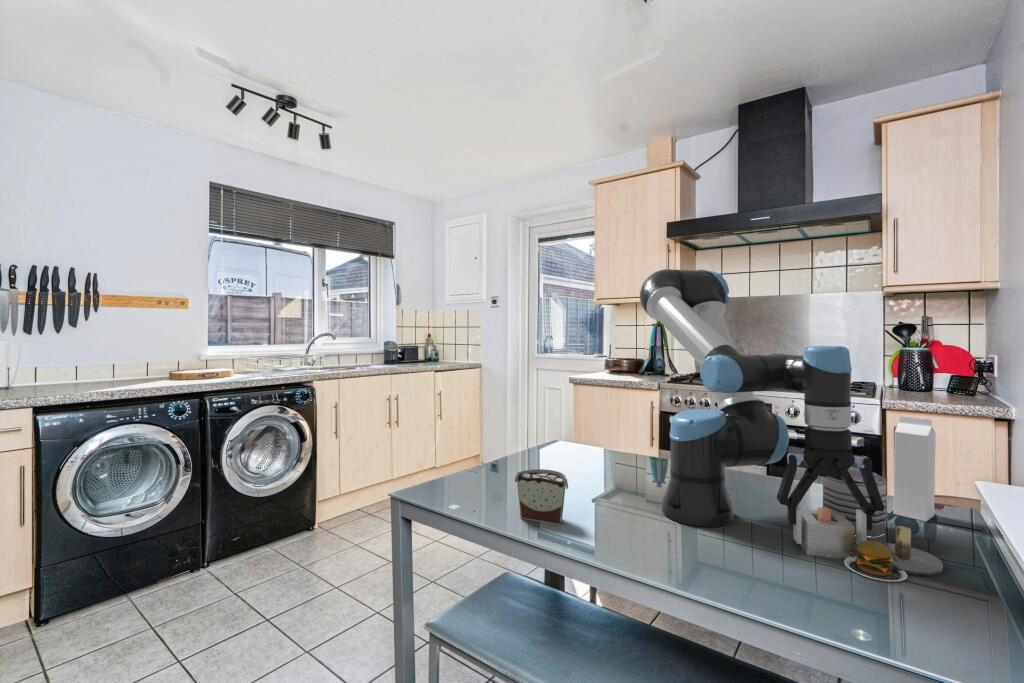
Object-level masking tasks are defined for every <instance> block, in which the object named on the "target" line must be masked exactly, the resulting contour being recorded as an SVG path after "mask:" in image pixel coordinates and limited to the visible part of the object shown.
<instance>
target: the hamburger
mask: <svg viewBox="0 0 1024 683" xmlns="http://www.w3.org/2000/svg"><path fill="white" fill-rule="evenodd" d="M882 543H883V542H879V541H876V540H870V539H869V540H867V541H863V542H861V543H860V544H859V545H858V544H857V545H856V549H855V555H854V558H852V557H848V558H846V559H843V563H844V565H845V567H846V568H847V569H849V570H851V571H853V572H854V573H855V574H858V575H860V576H863V577H866V578H868V579H873V580H876V581H880V582H881V581H882V582H901V581H904V580H905V581H906V579H907V578H908V574H906V572H905V571H904V570H903V571H898V572H899V573H900V574H901V575H900V574H899V573H898V572H897V573H898V574H899V575H900V578H898V579H895V580H893V579H891V580H890V579H889V580H888V579H882V578H875V577H872V576H868V575H865V574H862V573H860V572H857V571H856V570H854V568H852V567H851V566H850V564H851V563H853V562H852V561H854V560H856V561H854V562H856V565H857V567H858V568H859V569H860V570H861V571H863V572H865V573H867V574H870V575H873V576H878V577H884V576H885V577H886V576H889V575H891V573H892V571H893V570H892V569H893V567H892V566H895V565H893V563H894V561H893V559H892V553H891V551H890V550H889V548H888V547H886V546H885V545H883V544H882ZM892 562H893V563H892Z"/></svg>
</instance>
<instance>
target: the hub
mask: <svg viewBox="0 0 1024 683" xmlns="http://www.w3.org/2000/svg"><path fill="white" fill-rule="evenodd" d="M894 537H895V538H894V542H895V543H889V542H881V543H882V544H883V545H885V546H886V547H888V548H889V550H890V551H891V553H892V559H893V561H894V563H893V562H892V563H893V565H895V566H892V567H893V570H892V571H894V570H896V571H895V572H897V571H903V570H904V571H905V572H906V573H907V575H911V574H912V575H911V576H920V577H934V576H940V575H942V574H943V572H944V563H943V561H942V560H940V559H939V558H938V557H937V556H935V555H934V554H931V553H929V552H927V551H924V550H921V549H918V548H914V547H912V529H911V528H910V527H908V526H904V525H896V526H895V536H894Z"/></svg>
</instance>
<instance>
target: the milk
mask: <svg viewBox="0 0 1024 683" xmlns="http://www.w3.org/2000/svg"><path fill="white" fill-rule="evenodd" d="M936 432H937V431H935V429H934V427H933V421H932V419H930V418H929V419H928V418H919V417H918V418H917V417H912V416H911V417H909V416H903V415H900V416H899V417H898V424H897V426H896V428H895V431H894V454H893V455H894V457H893V458H894V460H893V461H894V462H893V465H894V466H893V515H898V516H901V517H905V518H910V519H915V520H918V521H921V522H928V521H929V520H930V519H932V518H933V517H935V499H936V498H935V492H936V491H935V490H936V489H935V487H936V482H935V481H936V440H937V439H936V434H937V433H936Z"/></svg>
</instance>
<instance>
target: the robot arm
mask: <svg viewBox="0 0 1024 683" xmlns="http://www.w3.org/2000/svg"><path fill="white" fill-rule="evenodd" d="M728 294H730V289H729V285H728V282H727V280H726V279H725V278H724V276H723V275H721V273H719V272H716V271H713V270H707V269H697V270H694V269H693V270H691V269H672V268H671V269H667V268H664V269H661V270H658V271H655V272H653V273H651V274H649V276H648V277H647V278H646V279H645V280H644V282H643V283H642V285H641V287H640V291H639V300H640V301H639V302H640V304H641V306H642V309H643V310H644V312H645V313H646V314H647V315H648V316H649V317H650V318H651V319H653V320H655V321H659V322H660V324H662V326H663V327H664V328H666V330H668V332H669V333H670V334H671V335H672V336H673V337H674V338H675V340H677V342H678V343H679V344H680V345H681V346H682V347H683V349H685V350H686V351H687V353H688V354H689V355H690V356H691V357H692V358H693V359H694V360H695V361H696V362H697V363H698V364H699V365H700V370H699V374H700V379H701V380H702V385H703V386H704V388H705V389H706V390H708V391H710V392H711V393H712V392H713V396H714V399H715V401H716V404H717V408H716V409H714V408H703V409H702V408H696V409H695V408H694V409H688V410H683V411H681V412H678V413H676V414H674V415H673V417H672V418H671V421H670V429H669V430H670V431H669V439H670V442H669V443H670V446H669V447H670V449H669V450H670V459H669V461H670V462H669V463H670V464H669V465H670V471H669V472H670V473H669V474H670V476H669V477H670V478H669V481H668V484H667V487H666V490H665V492H664V495H663V498H662V502H661V504H662V505H661V507H662V509H661V510H662V511H661V512H662V514H663V515H664V516H665V517H667V518H668V519H670V520H673V521H675V522H678V523H681V524H685V525H689V526H695V527H703V528H704V527H708V528H709V527H710V528H711V527H713V528H714V527H723V526H726V525H729V524H732V522H733V521H734V507H733V504H732V501H731V498H730V495H729V492H728V488H727V485H726V468H732V467H745V466H746V467H748V466H749V467H750V466H757V467H758V466H759V467H760V466H764V465H769V464H774V463H777V462H779V461H780V460H782V459H783V457H784V456H785V455H786V466H785V470H784V472H783V475H782V479H781V482H780V485H779V489H778V491H777V494H776V499H777V502H779V504H780V505H783V506H786V507H787V521H788V523H789V524H790V525H793V532H792V533H793V539H794V541H795V543H796V544H798V545H800V544H802V530H801V509H802V508H801V507H800V506H799V504H800V503H801V502H802V500H803V498H804V497H805V496H806V494H807V492H808V491H809V489H810V488H811V486H812V485H813V483H814V482H815V481H817V479H818V478H819V477H822V478H823V477H828V476H831V477H835V478H839V477H841V478H842V480H843V481H844V483H845V484H846V486H847V487H848V489H849V490H850V492H851V493H852V495H853V496H854V498H855V499H856V501H857V502H858V504H859V506H860V507H861V508H862V510H859V509H856V537H855V540H856V541H855V542H856V545H857V546H858V545H859V544H860V543H861V542H863V541H868V540H867V539H868V538H867V530H872V515H874V514H875V512H876V511H883V510H884V505H883V502H882V499H881V496H880V493H879V491H878V488H877V485H876V482H875V479H874V476H873V473H874V472H873V470H872V469H873V460H872V459H871V458H870V457H869V456H868V457H867V456H866V455H860V456H859V455H858V456H857V455H854V454H853V450H852V449H853V448H852V443H853V442H852V431H851V430H850V429H849V428H850V427H852V402H851V400H852V399H851V397H852V396H851V394H852V393H851V391H852V390H851V389H852V386H851V383H852V382H851V381H852V365H851V355H850V350H849V349H848V347H846V346H843V345H810V346H809V345H808V346H806V347H804V350H803V355H798V354H785V353H769V354H741V353H740V352H739V351H738V350H737V349H736V346H735V344H734V341H733V338H732V336H731V333H730V331H729V329H728V328H729V327H728V326H727V323H726V321H725V319H724V314H725V313H726V310H727V306H728V304H729V300H730V297H729V295H728ZM781 391H782V392H794V393H795V392H796V393H802V394H803V395H804V397H803V398H804V400H803V401H804V424H805V425H807V426H806V427H805V428H804V450H803V452H802V453H792V452H789V451H788V452H787V448H788V447H789V444H790V443H789V442H790V435H789V429H788V427H787V426H788V425H787V424H786V421H785V420H784V419H783V417H781V416H779V415H778V414H777V413H774V412H769V410H768V408H767V406H766V403H765V400H763V399H760V398H759V397H756V396H755V394H754V392H781ZM802 461H804V463H806V464H807V467H806V469H805V471H804V473H803V475H802V477H801V478H800V479H799V481H798V482H797V484H796V486H795V487H794V489H793V490H792V492H791V489H792V486H793V482H794V480H795V477H796V474H797V470H798V467H799V466H800V465H801V463H802ZM854 463H855V466H856V467H857V468H858V469H860V472H861V475H862V478H863V481H864V484H865V487H866V489H867V492H868V495H869V498H870V501H871V503H868V502H867V500H866V499H865V497H864V496H863V494H862V493H861V491H860V490H859V488H858V486H857V485H856V483H855V482H854V480H853V478H852V477H851V475H850V474H849V472H848V469H849V468H850V467H852V466H853V464H854ZM872 472H873V473H872Z"/></svg>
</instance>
